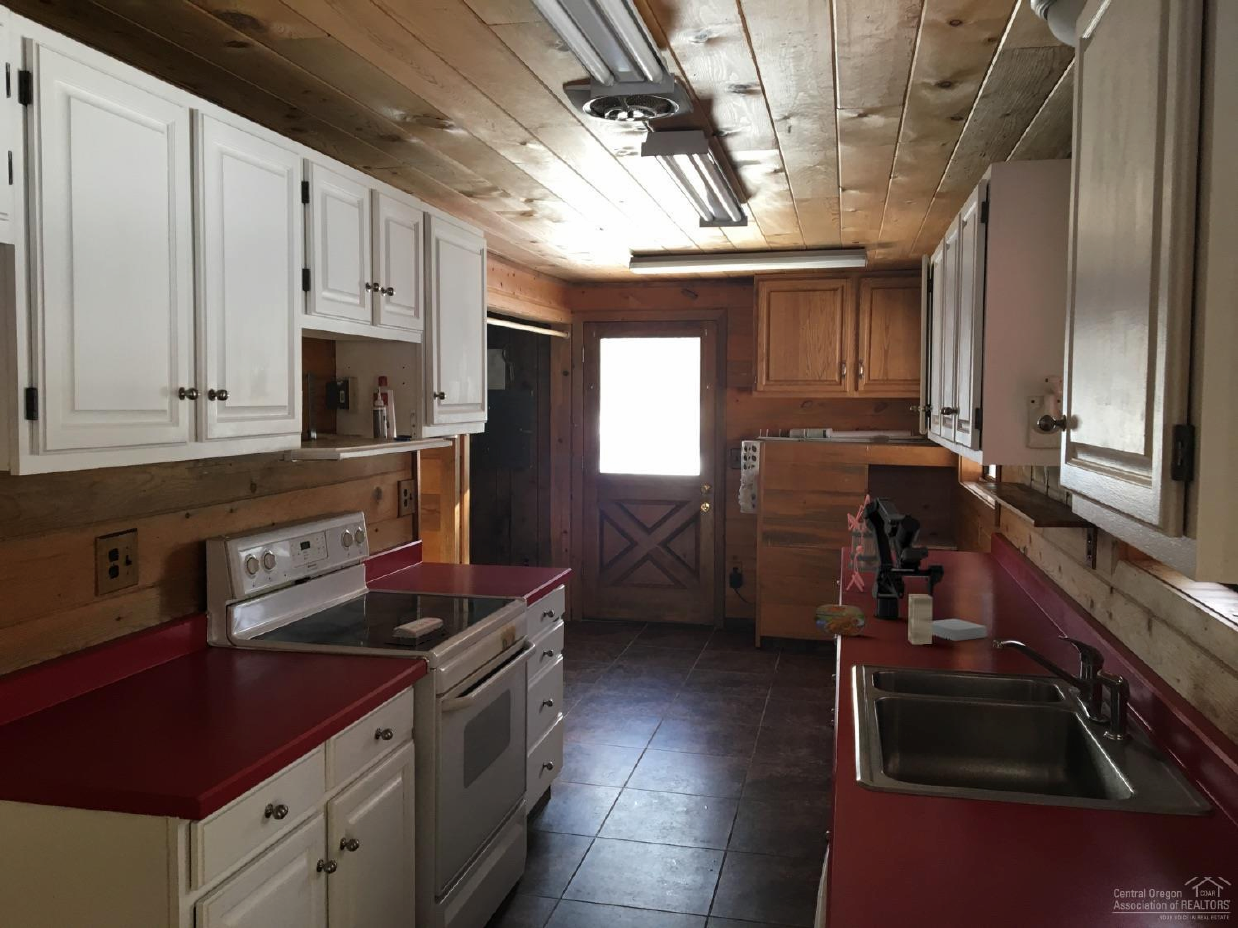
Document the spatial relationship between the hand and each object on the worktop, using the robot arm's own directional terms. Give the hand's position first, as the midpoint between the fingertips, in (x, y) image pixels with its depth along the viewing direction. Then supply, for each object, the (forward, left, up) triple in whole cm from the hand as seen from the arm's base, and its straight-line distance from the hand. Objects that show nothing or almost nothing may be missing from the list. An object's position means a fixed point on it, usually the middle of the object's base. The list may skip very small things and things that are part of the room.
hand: (915, 597), depth 267 cm
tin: (-13, -15, -12) cm, 24 cm away
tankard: (-103, +74, -12) cm, 127 cm away
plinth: (+2, +14, -11) cm, 18 cm away
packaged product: (-59, -127, -12) cm, 140 cm away
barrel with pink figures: (-66, +39, -12) cm, 78 cm away
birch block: (+5, -2, -11) cm, 13 cm away
